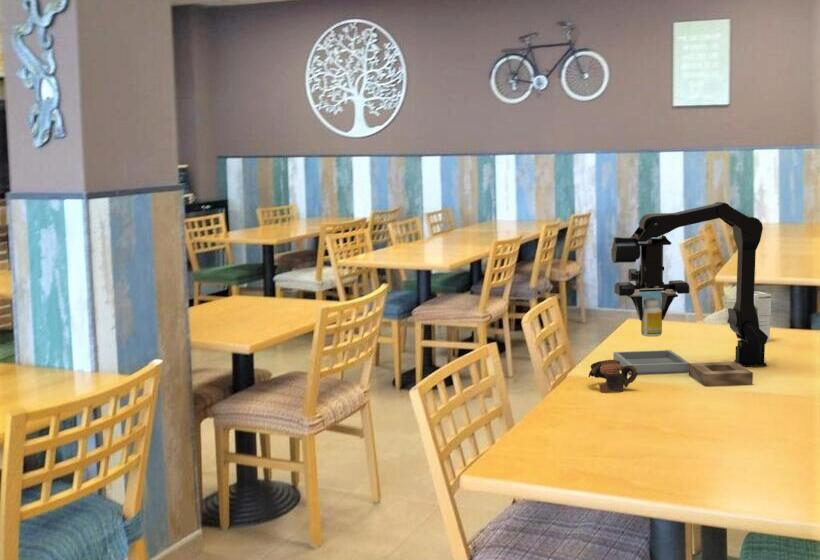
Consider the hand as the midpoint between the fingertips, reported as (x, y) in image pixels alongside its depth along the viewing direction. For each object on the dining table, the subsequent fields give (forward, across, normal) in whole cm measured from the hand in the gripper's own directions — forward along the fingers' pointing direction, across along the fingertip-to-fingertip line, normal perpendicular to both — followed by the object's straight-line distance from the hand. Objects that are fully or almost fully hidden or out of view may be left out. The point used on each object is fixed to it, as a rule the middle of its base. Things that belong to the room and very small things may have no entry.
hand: (651, 319), depth 260 cm
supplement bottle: (+4, 0, 0) cm, 4 cm away
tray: (+13, 0, 0) cm, 13 cm away
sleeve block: (+13, -13, +16) cm, 24 cm away
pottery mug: (+13, +16, +20) cm, 29 cm away
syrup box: (+13, -40, -27) cm, 50 cm away
